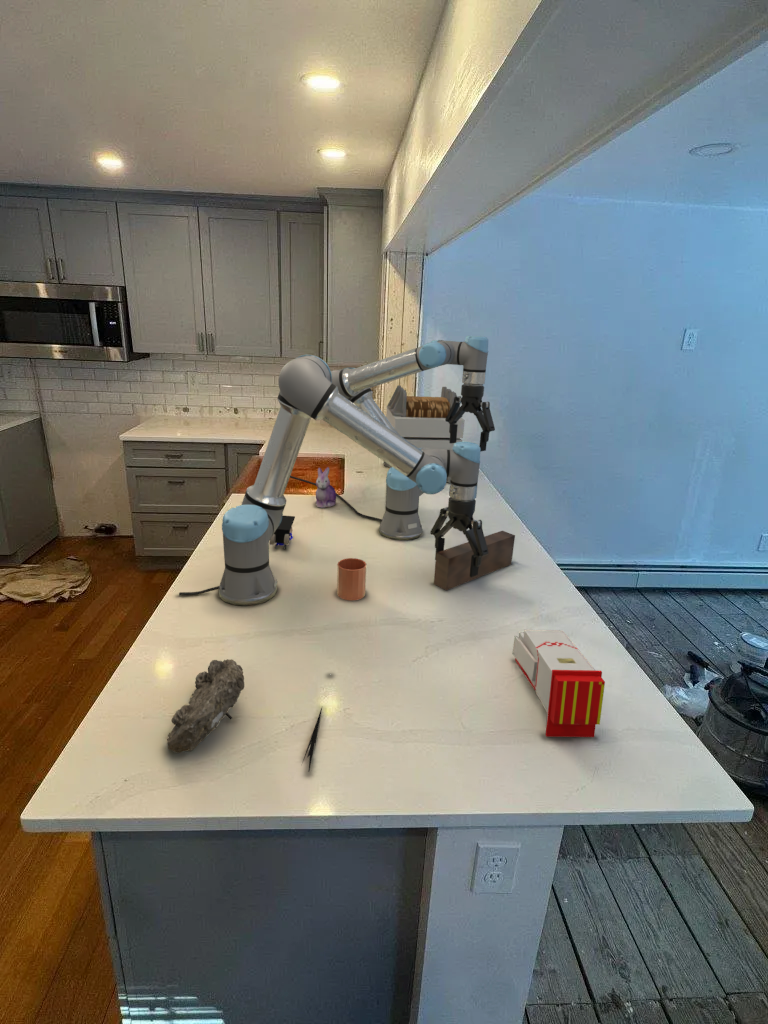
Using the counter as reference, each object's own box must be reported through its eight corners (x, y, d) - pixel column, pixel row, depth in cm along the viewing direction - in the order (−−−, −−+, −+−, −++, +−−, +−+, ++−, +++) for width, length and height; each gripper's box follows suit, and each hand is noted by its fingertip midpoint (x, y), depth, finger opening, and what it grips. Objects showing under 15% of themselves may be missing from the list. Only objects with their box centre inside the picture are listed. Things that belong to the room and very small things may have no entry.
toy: (559, 614, 131) (614, 677, 102) (553, 667, 134) (605, 744, 105) (507, 613, 131) (547, 676, 102) (503, 666, 134) (541, 743, 104)
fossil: (192, 660, 117) (244, 628, 112) (224, 691, 120) (276, 661, 115) (142, 746, 98) (202, 712, 93) (182, 779, 101) (242, 748, 96)
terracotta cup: (331, 592, 157) (331, 562, 154) (353, 584, 162) (354, 555, 159) (348, 603, 152) (349, 573, 149) (371, 595, 157) (372, 565, 154)
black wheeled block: (290, 555, 182) (296, 533, 195) (289, 535, 178) (295, 513, 192) (269, 555, 181) (276, 532, 195) (268, 534, 178) (275, 513, 191)
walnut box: (446, 590, 161) (448, 558, 158) (433, 584, 164) (436, 552, 161) (511, 564, 180) (515, 535, 176) (498, 559, 183) (502, 530, 180)
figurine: (319, 509, 219) (319, 472, 214) (309, 501, 228) (309, 465, 223) (341, 506, 224) (342, 470, 218) (331, 499, 232) (332, 463, 227)
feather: (331, 679, 122) (336, 673, 122) (307, 777, 96) (313, 769, 95) (324, 675, 122) (329, 669, 121) (298, 772, 95) (304, 764, 95)
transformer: (382, 463, 289) (386, 382, 275) (445, 464, 293) (451, 384, 279) (390, 482, 257) (394, 392, 243) (460, 483, 261) (468, 394, 247)
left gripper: (421, 488, 164) (416, 555, 171) (488, 513, 147) (480, 586, 154) (439, 484, 169) (434, 549, 176) (506, 507, 151) (497, 579, 158)
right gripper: (438, 380, 196) (433, 440, 203) (495, 390, 178) (488, 455, 185) (453, 379, 200) (448, 438, 207) (510, 388, 183) (502, 452, 190)
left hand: (455, 567), depth 165 cm, fingers open, 13 cm apart
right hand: (467, 446), depth 196 cm, fingers open, 13 cm apart
